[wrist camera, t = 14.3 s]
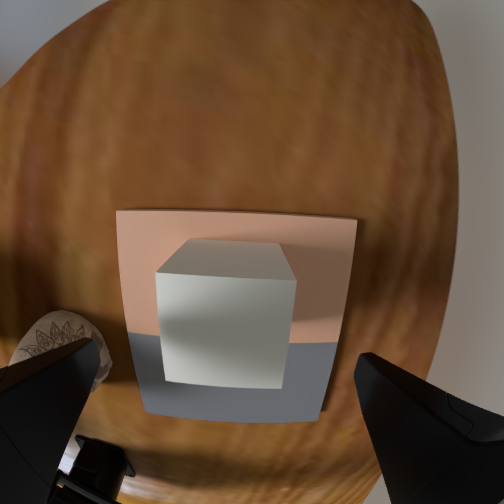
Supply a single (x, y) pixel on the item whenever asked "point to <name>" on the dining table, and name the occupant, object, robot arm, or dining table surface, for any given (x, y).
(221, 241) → the cream block
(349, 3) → the dining table surface
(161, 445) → the dining table surface
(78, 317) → the figurine
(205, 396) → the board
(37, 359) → the robot arm
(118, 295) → the dining table surface
